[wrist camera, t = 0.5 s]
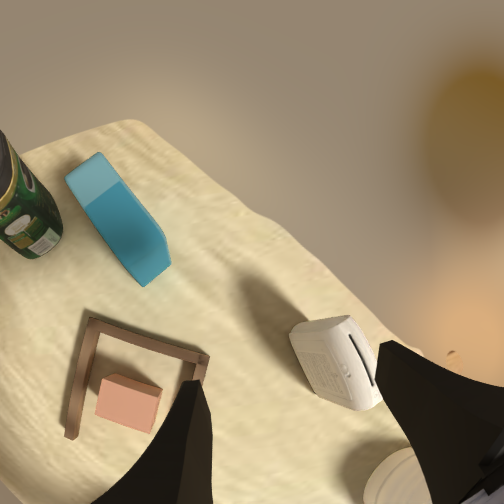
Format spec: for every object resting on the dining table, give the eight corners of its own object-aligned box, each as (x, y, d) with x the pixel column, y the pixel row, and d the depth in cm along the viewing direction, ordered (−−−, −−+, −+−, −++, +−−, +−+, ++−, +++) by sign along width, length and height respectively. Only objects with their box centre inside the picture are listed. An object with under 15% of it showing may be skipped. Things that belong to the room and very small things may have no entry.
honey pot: (432, 482, 34) (507, 508, 17) (373, 527, 30) (440, 574, 13) (419, 431, 36) (508, 451, 19) (353, 479, 32) (433, 530, 15)
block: (155, 420, 31) (149, 433, 26) (107, 404, 30) (94, 414, 25) (162, 389, 32) (157, 397, 27) (114, 373, 31) (102, 378, 26)
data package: (91, 218, 36) (59, 172, 25) (118, 197, 37) (96, 145, 26) (144, 290, 35) (124, 266, 24) (173, 266, 36) (165, 232, 25)
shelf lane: (179, 470, 29) (179, 476, 27) (69, 432, 28) (64, 436, 26) (208, 355, 34) (210, 356, 32) (94, 318, 33) (89, 316, 31)
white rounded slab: (343, 384, 36) (401, 396, 24) (316, 401, 35) (367, 422, 23) (311, 316, 38) (361, 303, 26) (282, 331, 37) (324, 326, 25)
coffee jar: (8, 214, 33) (-63, 146, 16) (50, 184, 36) (-8, 100, 18) (27, 271, 32) (-61, 220, 15) (72, 239, 35) (2, 165, 17)
